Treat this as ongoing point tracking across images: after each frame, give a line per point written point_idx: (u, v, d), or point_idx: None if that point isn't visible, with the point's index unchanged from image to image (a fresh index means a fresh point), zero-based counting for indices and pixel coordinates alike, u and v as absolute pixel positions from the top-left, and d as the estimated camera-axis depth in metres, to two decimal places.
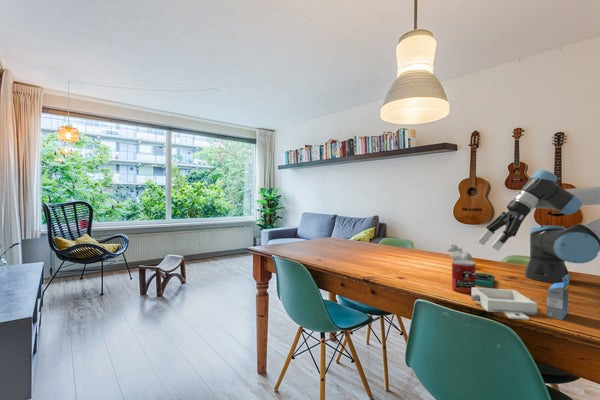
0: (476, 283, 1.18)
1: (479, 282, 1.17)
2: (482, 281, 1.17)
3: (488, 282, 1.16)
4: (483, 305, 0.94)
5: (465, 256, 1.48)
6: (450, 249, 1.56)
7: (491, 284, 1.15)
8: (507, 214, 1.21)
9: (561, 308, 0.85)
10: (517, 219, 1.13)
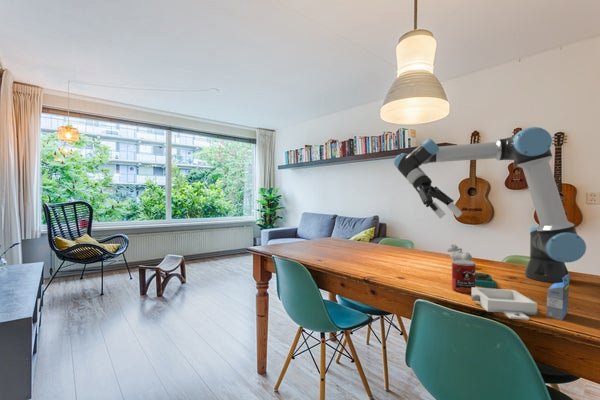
0: (479, 283, 1.17)
1: (482, 283, 1.17)
2: (485, 281, 1.16)
3: (491, 282, 1.16)
4: (483, 305, 0.94)
5: (465, 256, 1.48)
6: (450, 249, 1.56)
7: (494, 284, 1.15)
8: None
9: (561, 308, 0.85)
10: (419, 192, 1.26)
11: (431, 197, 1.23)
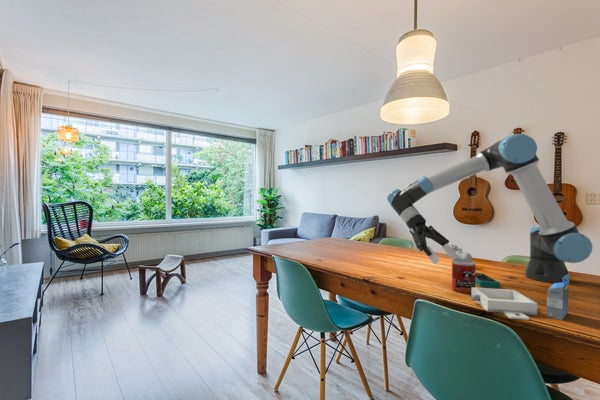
0: (485, 284, 1.16)
1: (488, 283, 1.16)
2: (490, 282, 1.16)
3: (496, 282, 1.16)
4: (483, 305, 0.94)
5: (465, 256, 1.48)
6: None
7: (499, 284, 1.15)
8: None
9: (561, 308, 0.85)
10: (412, 234, 1.20)
11: (425, 240, 1.17)
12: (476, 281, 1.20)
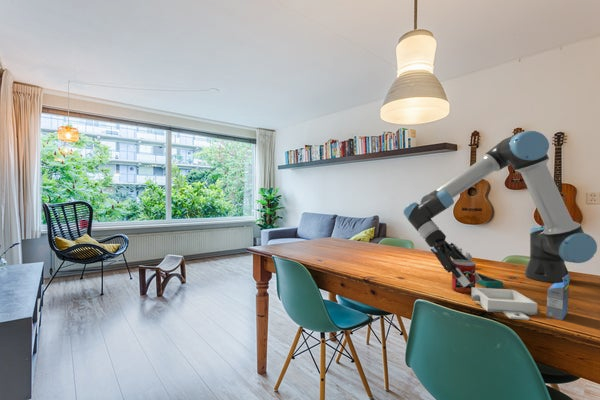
0: (491, 285, 1.15)
1: (494, 284, 1.15)
2: (495, 282, 1.16)
3: (500, 282, 1.16)
4: (483, 305, 0.94)
5: (465, 256, 1.48)
6: None
7: (502, 283, 1.16)
8: None
9: (561, 308, 0.85)
10: (436, 254, 1.13)
11: (451, 260, 1.11)
12: (480, 282, 1.19)
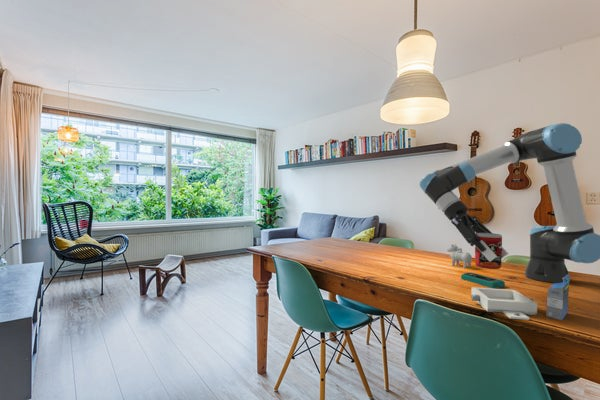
0: (496, 285, 1.15)
1: (498, 283, 1.16)
2: (499, 282, 1.16)
3: (502, 281, 1.17)
4: (483, 305, 0.94)
5: (465, 256, 1.48)
6: (450, 249, 1.56)
7: (504, 283, 1.17)
8: None
9: (561, 308, 0.85)
10: (457, 226, 1.02)
11: (474, 232, 1.00)
12: (483, 282, 1.18)
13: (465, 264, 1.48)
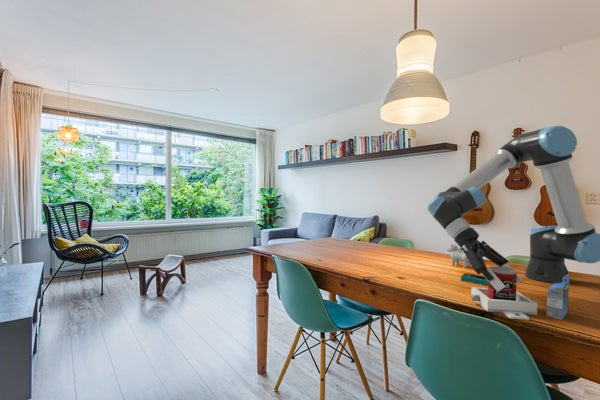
0: None
1: None
2: None
3: None
4: (483, 305, 0.94)
5: (465, 256, 1.48)
6: (450, 249, 1.56)
7: None
8: None
9: (561, 308, 0.85)
10: (466, 253, 0.98)
11: (483, 261, 0.96)
12: None
13: (465, 264, 1.48)
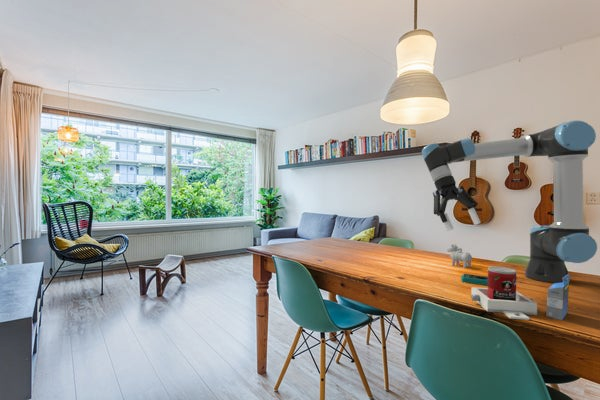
0: None
1: None
2: None
3: None
4: (483, 305, 0.94)
5: (465, 256, 1.48)
6: (450, 249, 1.56)
7: None
8: None
9: (561, 308, 0.85)
10: (434, 198, 1.19)
11: (445, 206, 1.17)
12: None
13: (465, 264, 1.48)
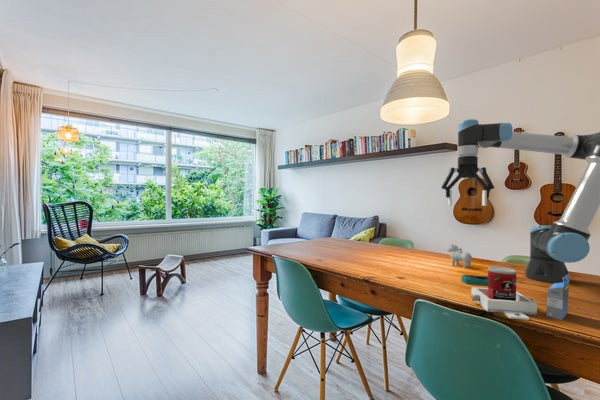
0: None
1: None
2: None
3: None
4: (483, 305, 0.94)
5: (465, 256, 1.48)
6: (450, 249, 1.56)
7: None
8: None
9: (561, 308, 0.85)
10: None
11: (454, 184, 1.28)
12: None
13: (465, 264, 1.48)
